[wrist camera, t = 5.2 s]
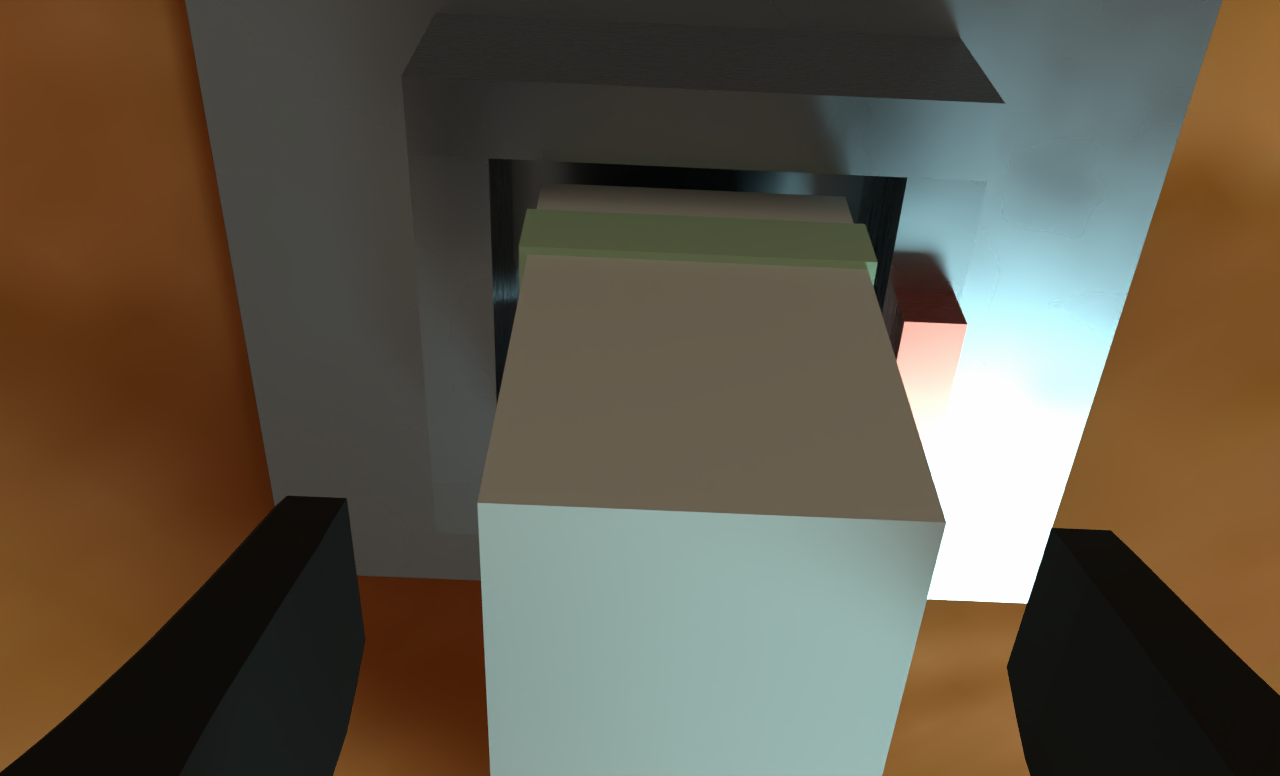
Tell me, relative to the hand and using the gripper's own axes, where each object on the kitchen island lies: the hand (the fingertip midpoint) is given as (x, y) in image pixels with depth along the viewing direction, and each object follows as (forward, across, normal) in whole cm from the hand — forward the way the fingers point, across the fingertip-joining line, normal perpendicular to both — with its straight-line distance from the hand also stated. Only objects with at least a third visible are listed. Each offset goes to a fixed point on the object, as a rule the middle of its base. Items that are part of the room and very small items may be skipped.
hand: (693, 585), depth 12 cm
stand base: (+8, 0, 0) cm, 8 cm away
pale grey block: (+5, 0, 0) cm, 5 cm away
